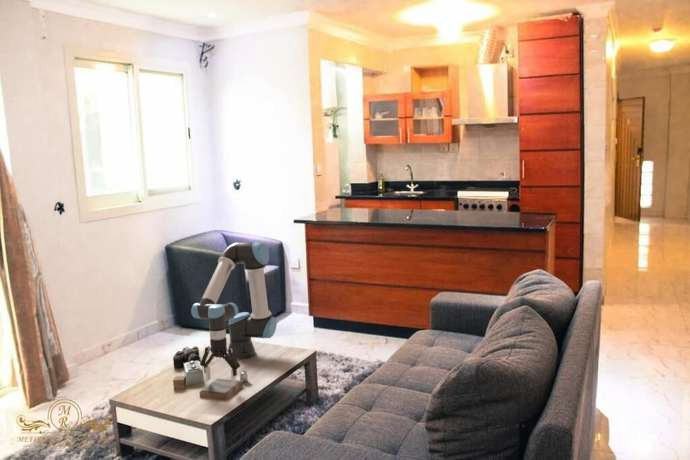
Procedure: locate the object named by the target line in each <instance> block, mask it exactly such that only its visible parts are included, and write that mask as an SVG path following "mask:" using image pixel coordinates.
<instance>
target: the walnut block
mask: <svg viewBox="0 0 690 460" xmlns="http://www.w3.org/2000/svg"><path fill="white" fill-rule="evenodd" d="M172 384H173V390H174V391H175V390H185V388H186V387H188V385H187V383H186V376H185V375H176V376H174V378H173V380H172Z"/></svg>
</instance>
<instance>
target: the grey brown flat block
mask: <svg viewBox="0 0 690 460" xmlns="http://www.w3.org/2000/svg"><path fill="white" fill-rule="evenodd" d="M242 387H244V385H243V381H240V380H237V379H236V382H234V383H232V381H231V379H226V378H216V379H214V380H213V381H212V382H211V383H209V384H208V385H207V386H205V387H204V388H203V389H201V390H200V391H199V398H205V399H206V398H207V399H214V400H215V399H216V400H224V401H225V400H226V401H227V400H228V399H230V398H231V396H233V395H234V394H236V392H238V391H239V390H240V389H242Z"/></svg>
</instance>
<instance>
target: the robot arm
mask: <svg viewBox="0 0 690 460" xmlns="http://www.w3.org/2000/svg"><path fill="white" fill-rule="evenodd" d="M269 261H270V252H269V248H268V247H267V245H266V244H265V243H264V242H259V241H248V242H247V241H236V242H234V243H231V244H230V245H228V246H227V247H226V248H225V249H224V250H223V251H222V252H221V254H220V255H219V257H218V260H217V263H218V264H217V266H216V268H215V270H214V272H213V274H212V277H211V279H210V280H209V283H208V285H207V287H206V289H205V290H204V293H203V295H202V297H201V299H200V300H199V302H196V303H194V304H192V307H191V311H190V312H191V316H192V317H193V318H194V319H199V320H208V325H209V326H208V327H209V343H210V345H208V346H206V347H205V348H204V353H203V356H202V358H201V361H200V365H201V366H203V367H202V368H203V374H205V378H206V379H205V380H206V382H208V381H210V380H211V379H212V376H211V366H210V365H209V364H210V363H211V362H212V361H213V359H214V358H220V359H221V358H222V359H223V360H224V361H225V362H226V363H227V364H228V366H229V367H230V368H231V369H230V377H231V378H230V380H231V381H232V383H234V382H236V380H237V378H236V376H237V375H238V371H237V370H238V369H239V368H240V367H241V364H240V363H239V360H240V359H248V358H250V357H251V358H252V356H255V355H256V349H255V346H254V343H253V341H252V338H254V339H255V338H257V339H271V338H272V337H273V336H274V334H275V332H276V330H277V323H278V321H277V318H276V317H275V316H273V314H272V312H271V310H269V305H268V297H267V296H268V295H267V288H266V287H267V286H266V279H265V268H266V266H267V264H268V263H269ZM238 264H241V265H243V267H244V270H245V271H247V278H248V287H249V295H250V302H251V309H252V310H251V311H252V312H251V313H250V312H247V311H243V312H239V308H238V305H237V304H236V303H234V302H227V303H225V304H224V303H223V304H222V303H218V300H219V298H220V296H221V293H222V292H223V289H224V287H225V285H226V282H227V281H228V279H229V276H230V275H231V272H232V271H233V270H234V269H235V267H236V265H237V266H238ZM226 322H228V333H229V345H228V348H227V344H228V343H227V342H228V341H227V329H226ZM210 352H211V355H209V354H210ZM208 356H209V358H208ZM207 358H208V359H207Z"/></svg>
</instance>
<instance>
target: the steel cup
mask: <svg viewBox="0 0 690 460" xmlns="http://www.w3.org/2000/svg"><path fill="white" fill-rule="evenodd" d="M239 379H240V380H239V381H243V384H247V383H248V382H249V379H248V371H245V370H243V371H240V372H239Z"/></svg>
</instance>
